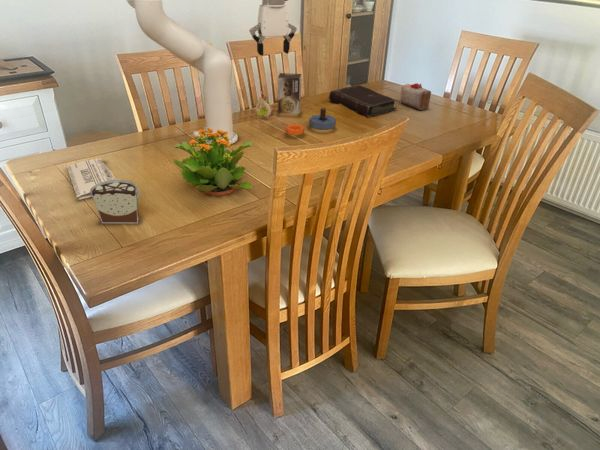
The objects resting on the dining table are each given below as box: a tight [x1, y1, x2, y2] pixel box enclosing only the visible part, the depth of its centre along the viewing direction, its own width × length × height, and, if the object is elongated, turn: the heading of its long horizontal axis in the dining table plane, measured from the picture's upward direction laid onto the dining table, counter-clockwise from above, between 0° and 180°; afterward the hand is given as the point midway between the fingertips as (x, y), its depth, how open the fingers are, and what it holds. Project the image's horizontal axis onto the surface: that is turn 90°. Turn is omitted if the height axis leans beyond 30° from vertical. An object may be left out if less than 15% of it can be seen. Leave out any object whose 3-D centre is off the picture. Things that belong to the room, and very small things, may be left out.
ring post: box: [309, 107, 336, 131], centre depth 182 cm, size 10×10×8 cm
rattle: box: [255, 90, 272, 118], centre depth 190 cm, size 8×8×12 cm
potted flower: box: [172, 128, 254, 197], centre depth 135 cm, size 25×24×18 cm
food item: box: [400, 82, 432, 111], centre depth 208 cm, size 14×8×10 cm, turn 33°
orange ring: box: [285, 124, 305, 136], centre depth 177 cm, size 6×6×3 cm
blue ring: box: [308, 114, 337, 131], centre depth 182 cm, size 10×10×2 cm
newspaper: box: [66, 157, 117, 200], centre depth 142 cm, size 23×12×2 cm, turn 30°
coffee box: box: [277, 72, 302, 115], centre depth 193 cm, size 9×6×16 cm
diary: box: [328, 84, 399, 118], centre depth 207 cm, size 19×25×5 cm
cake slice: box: [89, 178, 141, 225], centre depth 122 cm, size 12×6×10 cm, turn 92°
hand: (273, 53), depth 166 cm, fingers open, 9 cm apart
